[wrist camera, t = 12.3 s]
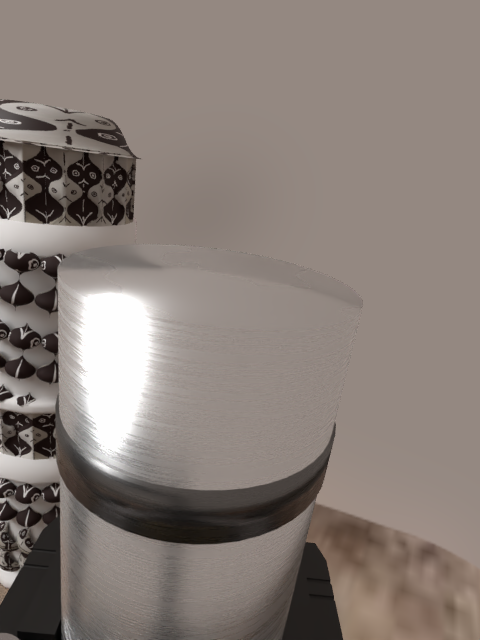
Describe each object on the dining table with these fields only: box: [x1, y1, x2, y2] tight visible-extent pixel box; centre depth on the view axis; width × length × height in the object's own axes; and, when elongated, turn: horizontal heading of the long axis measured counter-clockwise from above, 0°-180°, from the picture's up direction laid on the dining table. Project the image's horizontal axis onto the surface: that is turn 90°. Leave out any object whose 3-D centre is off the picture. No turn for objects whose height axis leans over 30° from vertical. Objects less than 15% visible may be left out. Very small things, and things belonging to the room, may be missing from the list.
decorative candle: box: [0, 99, 140, 589], centre depth 23 cm, size 9×9×25 cm
